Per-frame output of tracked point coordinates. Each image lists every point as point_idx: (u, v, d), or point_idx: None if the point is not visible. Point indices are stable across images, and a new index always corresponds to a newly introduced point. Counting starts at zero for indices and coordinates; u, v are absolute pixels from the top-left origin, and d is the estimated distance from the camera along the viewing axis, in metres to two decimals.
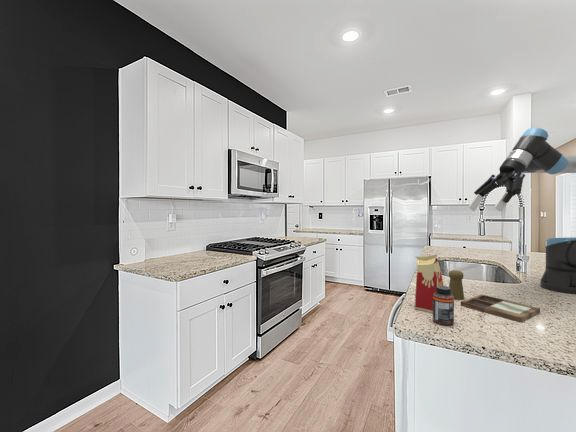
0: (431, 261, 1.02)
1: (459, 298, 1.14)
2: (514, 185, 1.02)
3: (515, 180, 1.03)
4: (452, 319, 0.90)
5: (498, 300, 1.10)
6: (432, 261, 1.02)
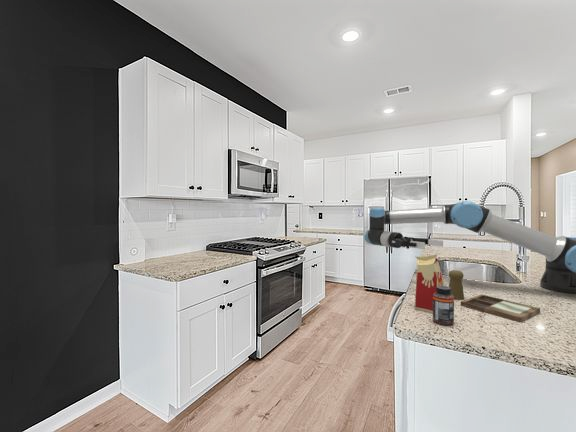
0: (431, 261, 1.02)
1: (459, 298, 1.14)
2: None
3: None
4: (452, 319, 0.90)
5: (498, 300, 1.10)
6: (432, 261, 1.02)
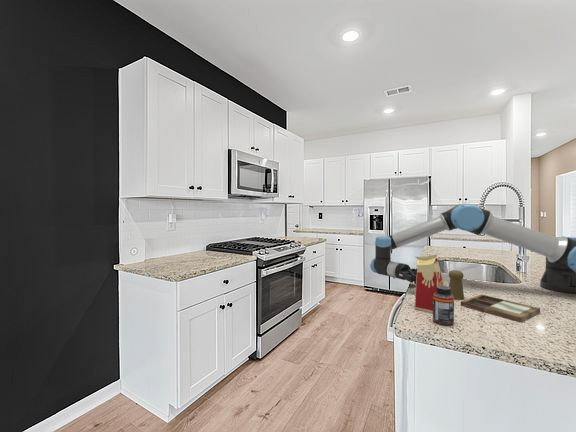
0: (431, 261, 1.02)
1: (459, 298, 1.14)
2: None
3: None
4: (452, 319, 0.90)
5: (498, 300, 1.10)
6: (432, 261, 1.02)
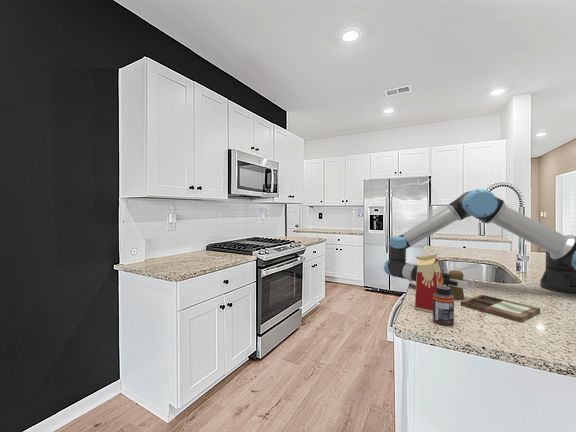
0: (431, 261, 1.02)
1: (459, 298, 1.14)
2: None
3: None
4: (452, 319, 0.90)
5: (498, 300, 1.10)
6: (432, 261, 1.02)
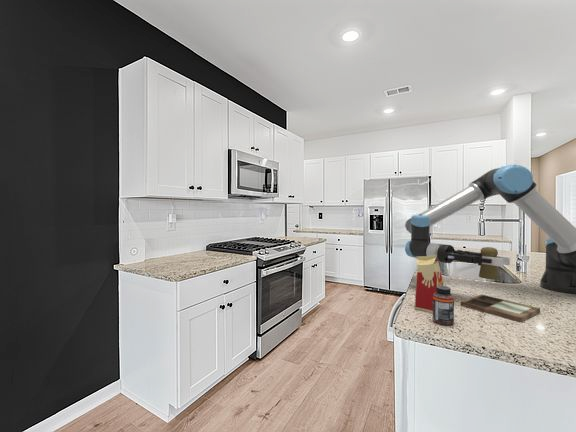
0: (431, 261, 1.02)
1: (493, 277, 1.02)
2: None
3: None
4: (452, 319, 0.90)
5: (498, 300, 1.10)
6: (432, 261, 1.02)
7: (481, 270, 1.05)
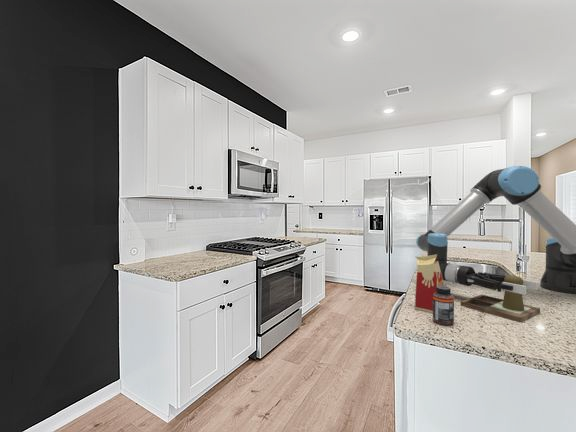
0: (431, 261, 1.02)
1: (519, 308, 0.97)
2: None
3: None
4: (452, 319, 0.90)
5: (498, 300, 1.10)
6: (432, 261, 1.02)
7: (505, 300, 1.00)
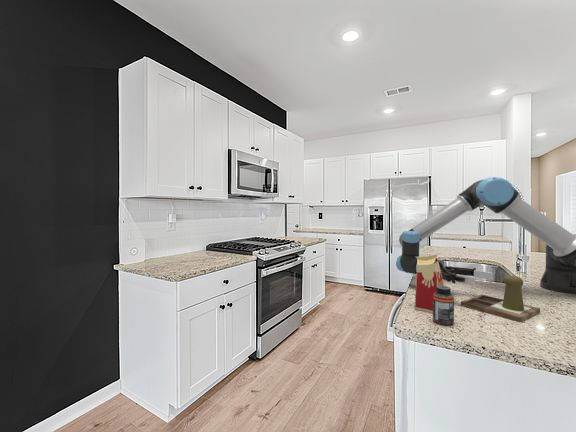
0: (431, 261, 1.02)
1: (519, 309, 0.97)
2: None
3: None
4: (452, 319, 0.90)
5: (498, 300, 1.10)
6: (432, 261, 1.02)
7: (505, 300, 1.00)
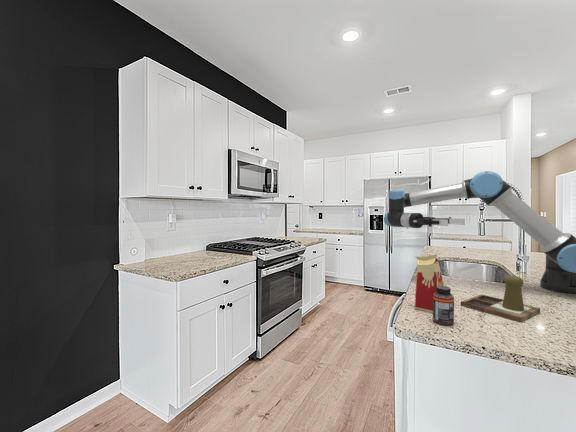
0: (431, 261, 1.02)
1: (519, 309, 0.97)
2: (424, 224, 1.29)
3: (420, 224, 1.32)
4: (452, 319, 0.90)
5: (498, 300, 1.10)
6: (432, 261, 1.02)
7: (505, 300, 1.00)
